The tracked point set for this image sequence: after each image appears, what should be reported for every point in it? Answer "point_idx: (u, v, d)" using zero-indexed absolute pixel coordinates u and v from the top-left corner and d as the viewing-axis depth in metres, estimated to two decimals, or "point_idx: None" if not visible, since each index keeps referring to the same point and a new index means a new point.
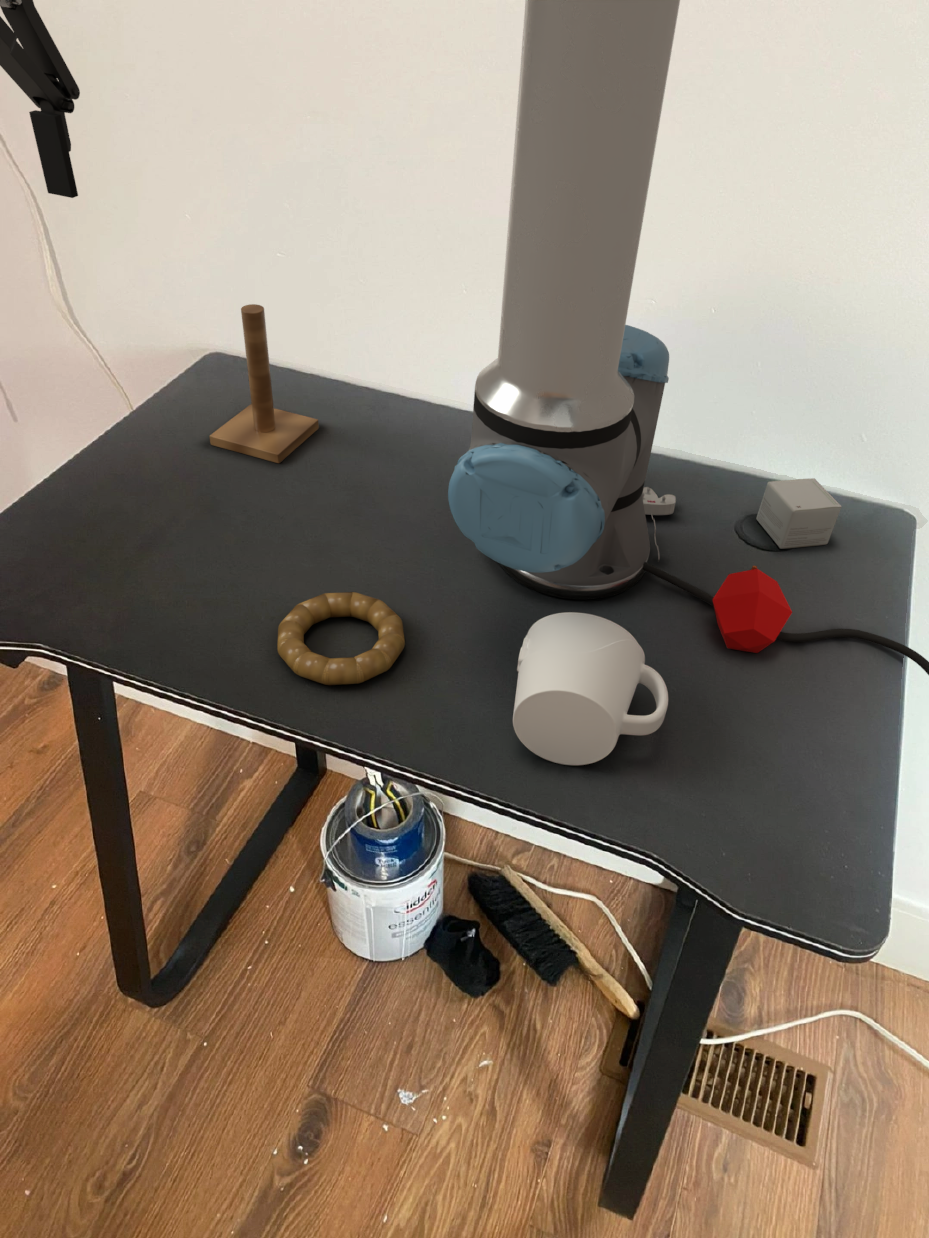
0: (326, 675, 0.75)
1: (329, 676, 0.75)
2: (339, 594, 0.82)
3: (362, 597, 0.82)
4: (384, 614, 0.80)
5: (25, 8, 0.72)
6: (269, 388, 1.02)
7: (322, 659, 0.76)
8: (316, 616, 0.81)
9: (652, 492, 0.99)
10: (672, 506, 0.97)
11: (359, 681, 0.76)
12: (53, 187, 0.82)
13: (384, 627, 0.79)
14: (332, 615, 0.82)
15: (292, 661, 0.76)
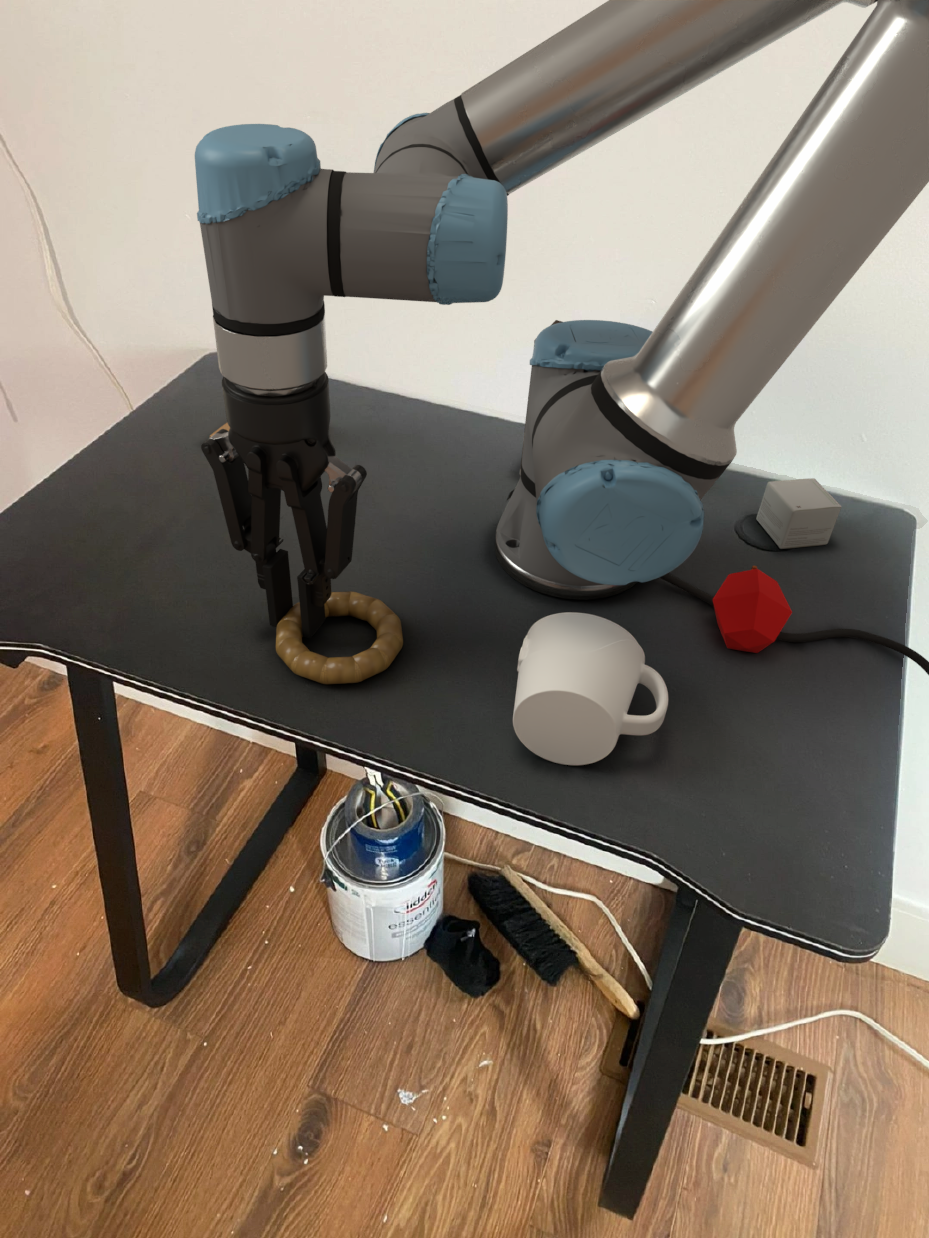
0: (324, 674, 0.75)
1: (327, 675, 0.75)
2: (338, 593, 0.82)
3: (360, 596, 0.82)
4: (382, 613, 0.80)
5: (333, 498, 0.69)
6: None
7: (320, 658, 0.76)
8: None
9: None
10: None
11: (357, 680, 0.76)
12: None
13: (382, 626, 0.79)
14: (330, 614, 0.82)
15: (290, 661, 0.76)
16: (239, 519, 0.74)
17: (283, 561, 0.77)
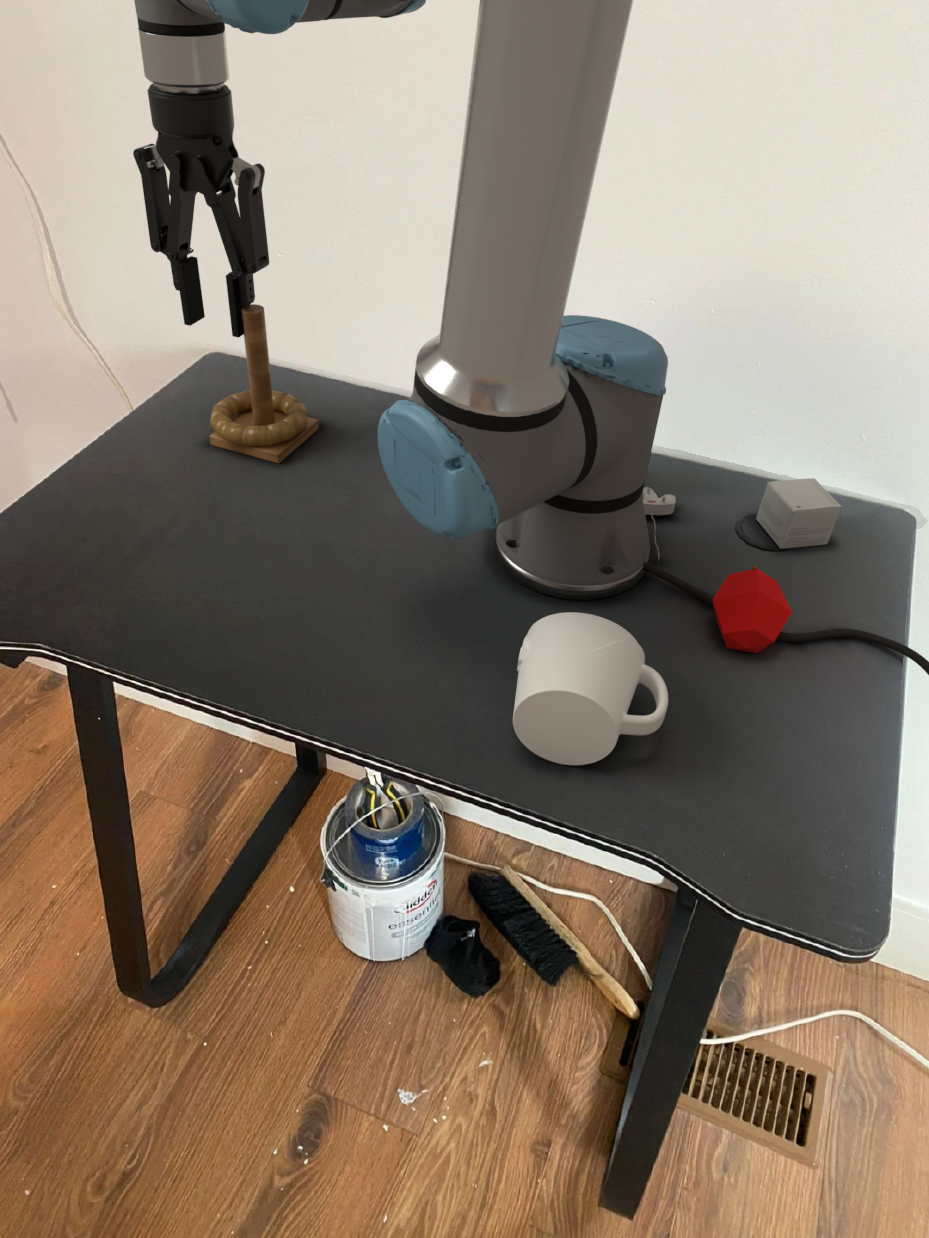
0: (244, 436, 1.01)
1: (247, 437, 1.01)
2: None
3: (276, 392, 1.08)
4: (292, 402, 1.06)
5: (239, 190, 0.88)
6: (269, 388, 1.02)
7: (242, 426, 1.01)
8: (241, 405, 1.07)
9: (652, 492, 0.99)
10: (672, 506, 0.97)
11: (270, 442, 1.02)
12: None
13: (291, 409, 1.05)
14: None
15: (220, 428, 1.02)
16: (159, 223, 0.94)
17: (193, 265, 0.97)
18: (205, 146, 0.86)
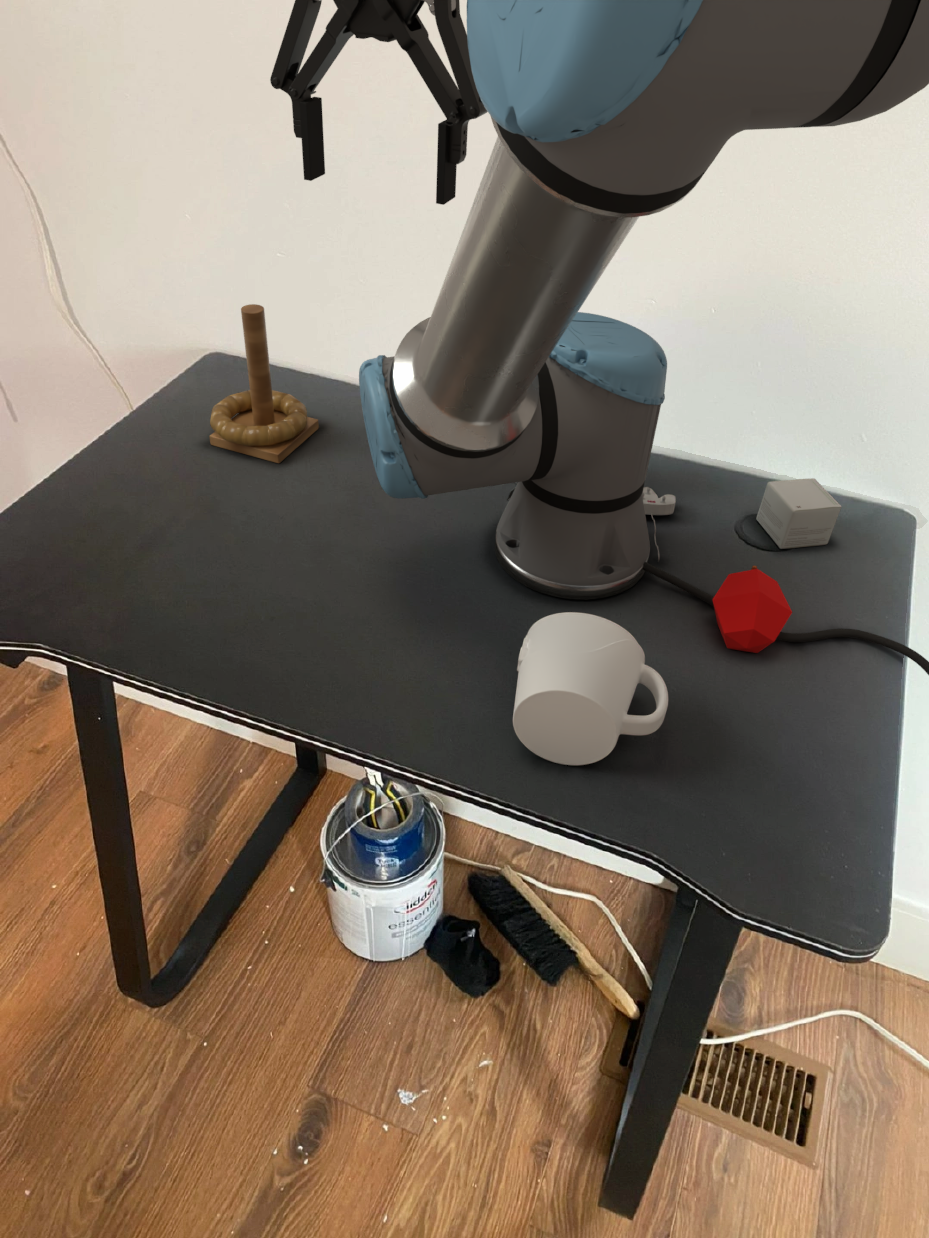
0: (244, 436, 1.01)
1: (247, 437, 1.01)
2: None
3: (276, 392, 1.08)
4: (292, 402, 1.06)
5: (437, 16, 0.74)
6: (269, 388, 1.02)
7: (242, 426, 1.01)
8: (241, 405, 1.07)
9: (652, 492, 0.99)
10: (672, 506, 0.97)
11: (270, 442, 1.02)
12: None
13: (291, 409, 1.05)
14: None
15: (220, 428, 1.02)
16: (292, 59, 0.81)
17: (317, 106, 0.84)
18: None
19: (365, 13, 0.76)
